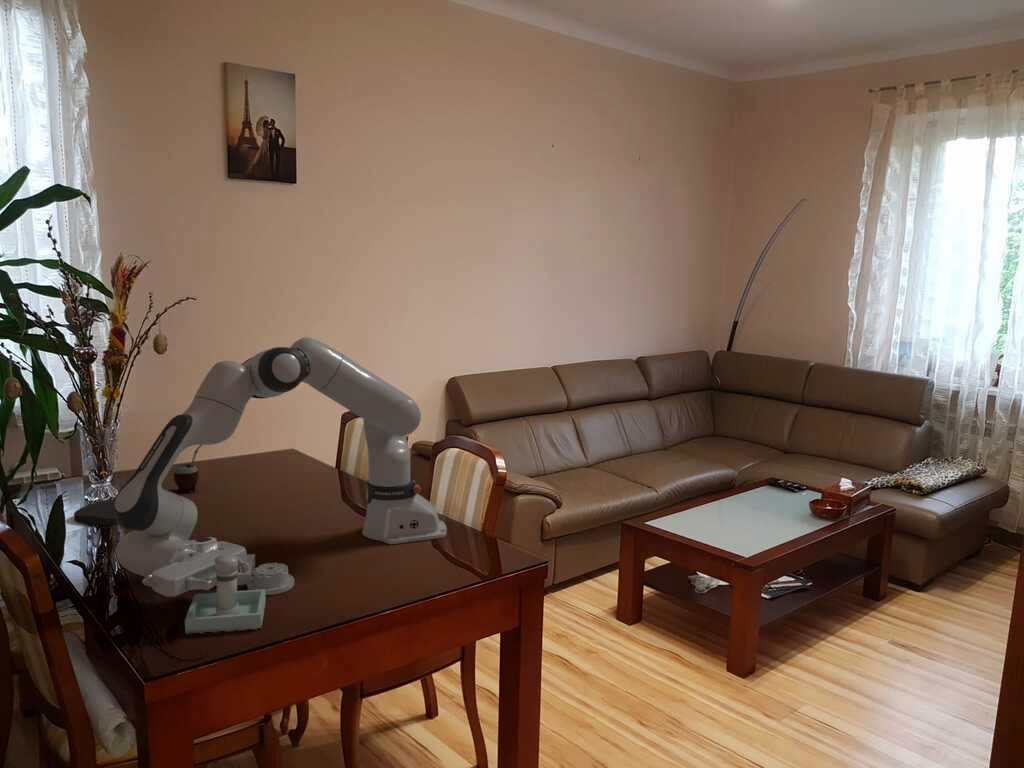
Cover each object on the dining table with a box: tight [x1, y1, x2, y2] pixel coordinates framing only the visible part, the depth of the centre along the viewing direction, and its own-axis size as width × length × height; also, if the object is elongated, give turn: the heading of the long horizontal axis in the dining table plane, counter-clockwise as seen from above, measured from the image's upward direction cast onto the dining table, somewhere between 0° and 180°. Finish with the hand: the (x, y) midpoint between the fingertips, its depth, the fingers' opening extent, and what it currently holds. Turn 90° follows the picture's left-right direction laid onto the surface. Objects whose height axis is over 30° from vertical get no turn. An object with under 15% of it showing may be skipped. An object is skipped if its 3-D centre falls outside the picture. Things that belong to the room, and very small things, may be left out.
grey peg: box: [215, 555, 239, 616], centre depth 157 cm, size 4×4×12 cm
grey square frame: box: [213, 553, 256, 586], centre depth 178 cm, size 12×12×2 cm
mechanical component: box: [246, 562, 295, 596], centre depth 173 cm, size 10×4×10 cm
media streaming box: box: [73, 499, 119, 527], centre depth 216 cm, size 15×15×3 cm
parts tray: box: [184, 589, 267, 635], centre depth 157 cm, size 14×12×3 cm
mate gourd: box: [173, 445, 203, 494], centre depth 239 cm, size 8×8×15 cm
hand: (229, 576), depth 156 cm, fingers open, 8 cm apart
